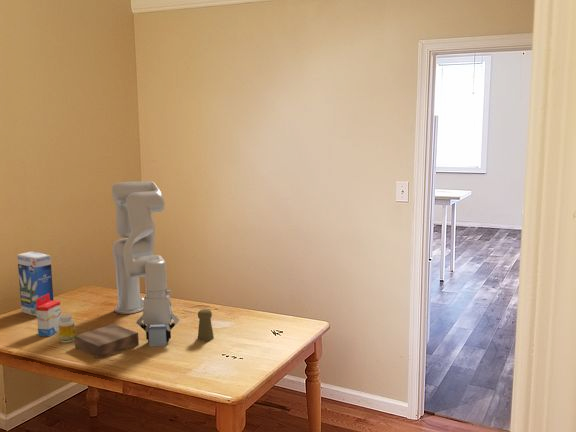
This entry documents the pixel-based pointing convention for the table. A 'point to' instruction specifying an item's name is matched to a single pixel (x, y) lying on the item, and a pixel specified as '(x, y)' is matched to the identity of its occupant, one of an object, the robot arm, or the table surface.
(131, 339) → the walnut block
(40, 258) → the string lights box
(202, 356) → the table surface
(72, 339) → the supplement bottle
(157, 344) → the blue cube
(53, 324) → the ink box
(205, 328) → the cork
